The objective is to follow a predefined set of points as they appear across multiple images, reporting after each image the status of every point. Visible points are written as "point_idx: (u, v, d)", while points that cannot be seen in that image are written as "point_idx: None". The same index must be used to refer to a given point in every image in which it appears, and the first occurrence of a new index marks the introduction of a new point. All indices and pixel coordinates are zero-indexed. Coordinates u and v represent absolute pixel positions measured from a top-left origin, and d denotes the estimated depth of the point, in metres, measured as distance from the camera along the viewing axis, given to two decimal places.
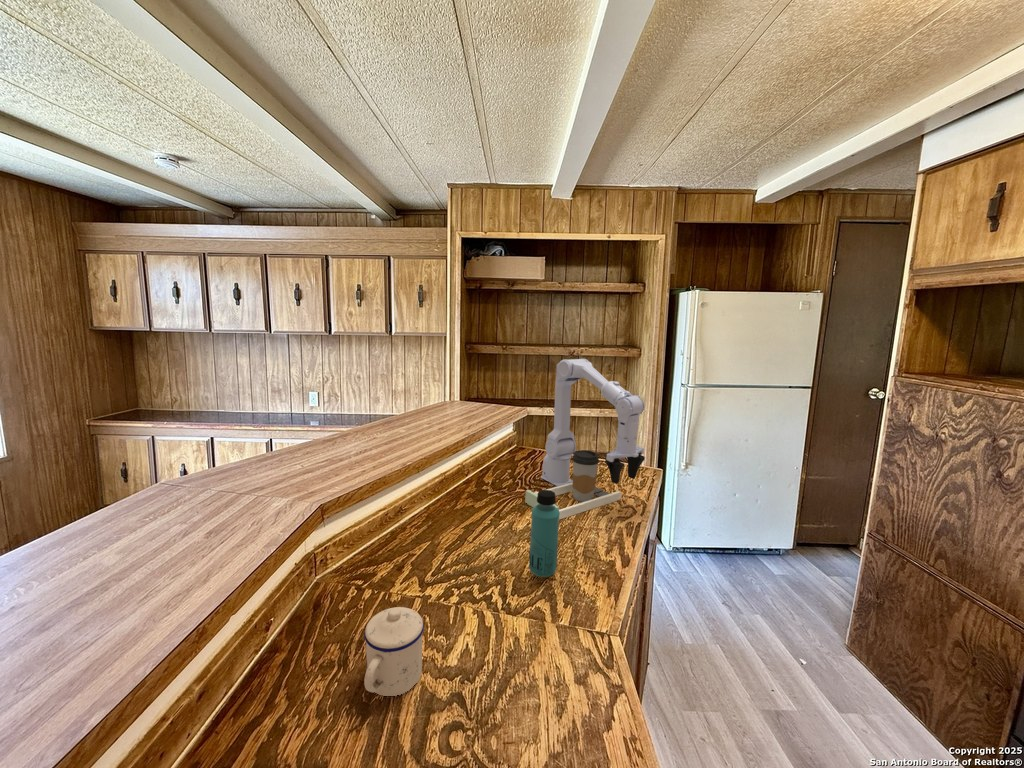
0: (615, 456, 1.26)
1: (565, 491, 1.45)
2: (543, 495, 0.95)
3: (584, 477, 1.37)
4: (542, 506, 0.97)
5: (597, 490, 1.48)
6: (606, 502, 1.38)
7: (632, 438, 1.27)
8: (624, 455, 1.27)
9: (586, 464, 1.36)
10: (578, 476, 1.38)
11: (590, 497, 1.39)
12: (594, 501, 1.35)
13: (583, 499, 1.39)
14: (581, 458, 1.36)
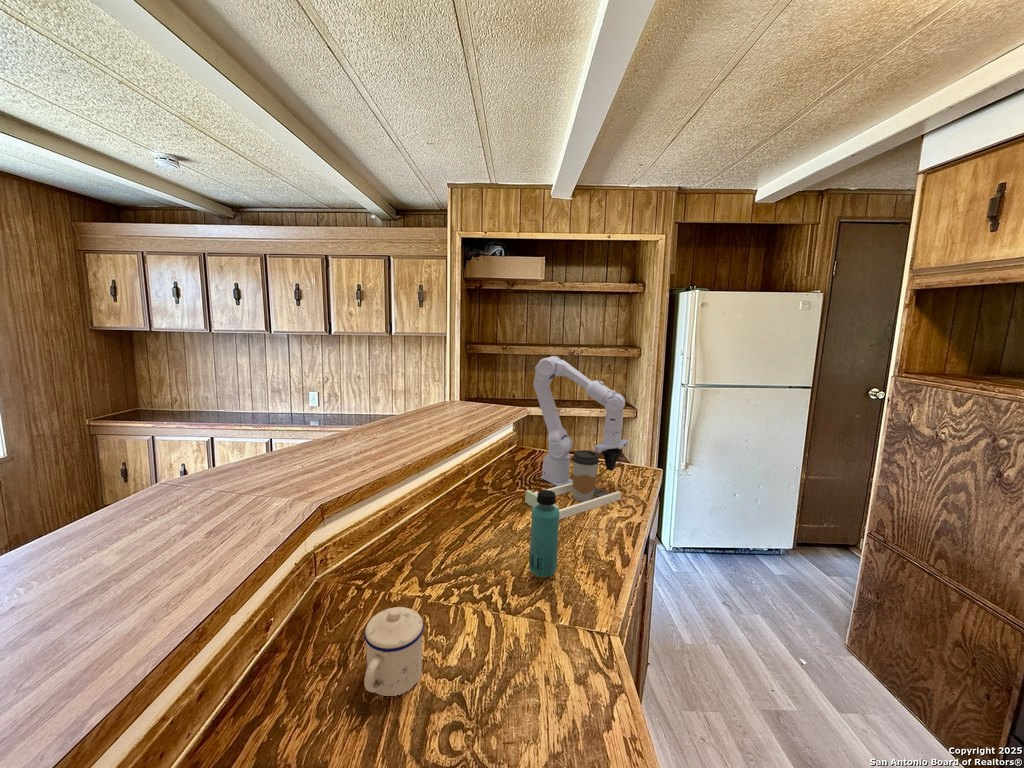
0: (602, 448, 1.42)
1: (565, 491, 1.45)
2: (543, 495, 0.95)
3: (584, 477, 1.37)
4: (542, 506, 0.97)
5: (597, 490, 1.48)
6: (606, 502, 1.38)
7: (620, 431, 1.43)
8: (610, 447, 1.43)
9: (586, 464, 1.36)
10: (578, 476, 1.38)
11: (590, 497, 1.39)
12: (594, 501, 1.35)
13: (583, 499, 1.39)
14: (581, 458, 1.36)
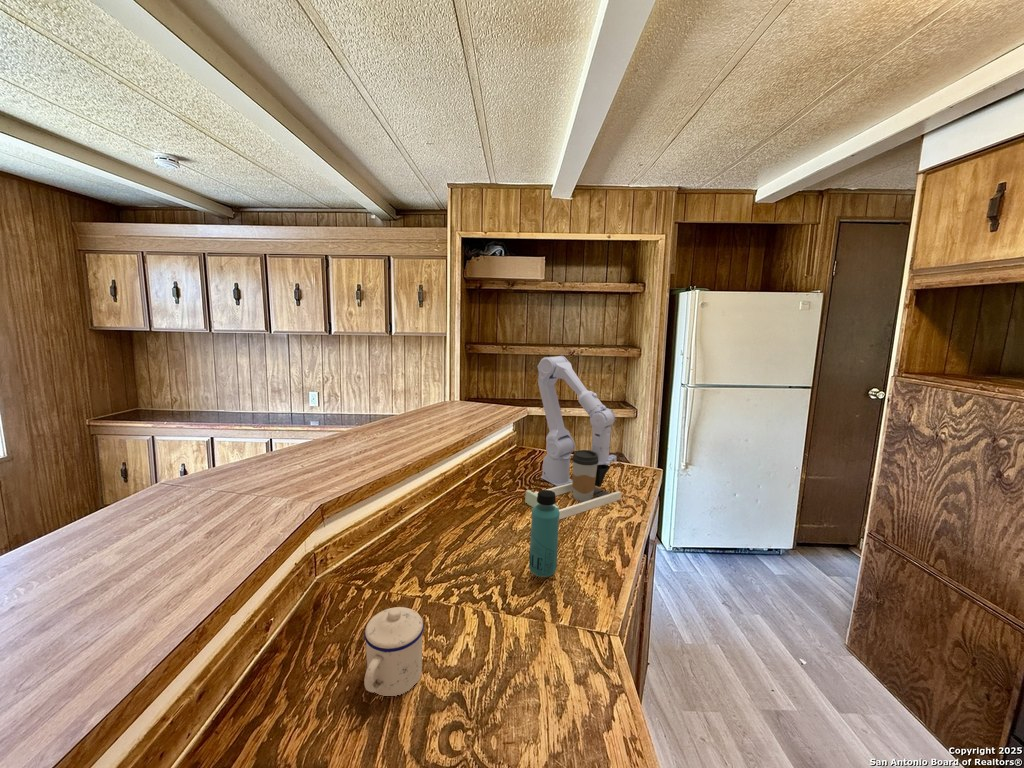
0: None
1: (565, 491, 1.45)
2: (543, 495, 0.95)
3: (584, 477, 1.37)
4: (542, 506, 0.97)
5: (597, 490, 1.48)
6: (606, 502, 1.38)
7: (606, 447, 1.40)
8: None
9: (586, 464, 1.36)
10: (578, 476, 1.38)
11: (590, 497, 1.39)
12: (594, 501, 1.35)
13: (583, 499, 1.39)
14: (581, 458, 1.36)
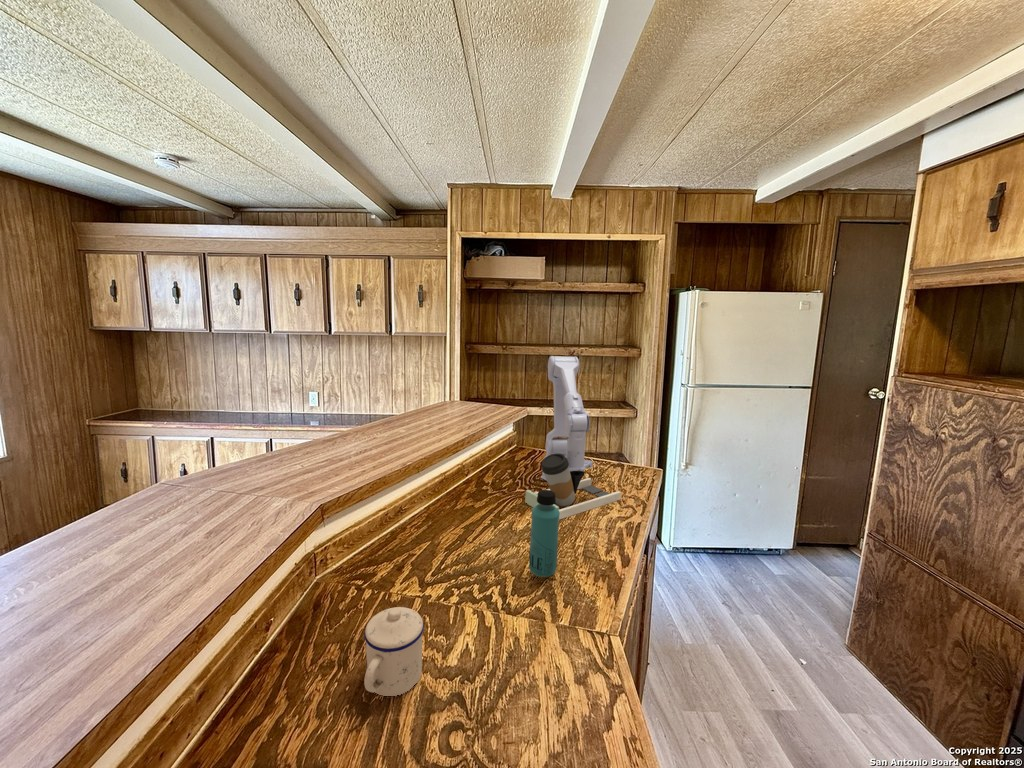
0: None
1: None
2: (543, 495, 0.95)
3: (558, 485, 1.31)
4: (542, 506, 0.97)
5: (597, 490, 1.48)
6: (606, 502, 1.38)
7: (574, 453, 1.33)
8: (571, 469, 1.33)
9: (555, 473, 1.29)
10: (552, 485, 1.32)
11: (571, 499, 1.34)
12: (594, 501, 1.35)
13: (564, 504, 1.34)
14: (548, 469, 1.29)
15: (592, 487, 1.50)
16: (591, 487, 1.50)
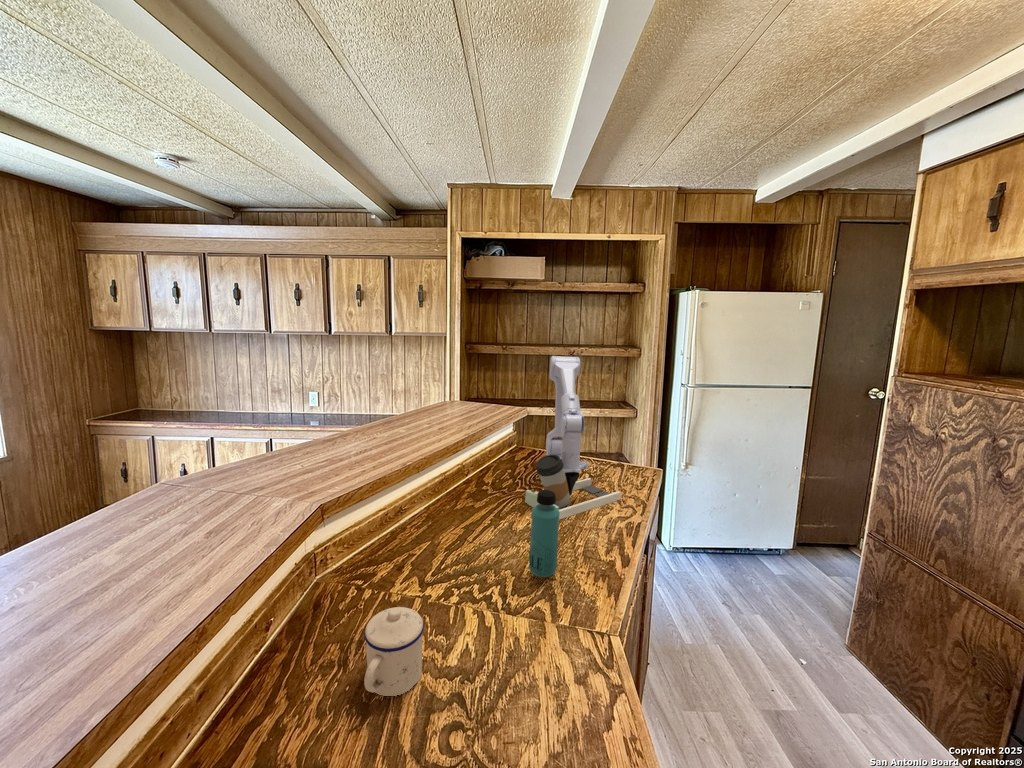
0: None
1: None
2: (543, 495, 0.95)
3: (552, 487, 1.30)
4: (542, 506, 0.97)
5: (597, 490, 1.48)
6: (606, 502, 1.38)
7: (569, 454, 1.32)
8: (566, 470, 1.32)
9: (550, 475, 1.28)
10: (547, 486, 1.31)
11: (566, 501, 1.33)
12: (594, 501, 1.35)
13: (559, 505, 1.33)
14: (543, 470, 1.28)
15: (592, 487, 1.50)
16: (591, 487, 1.50)
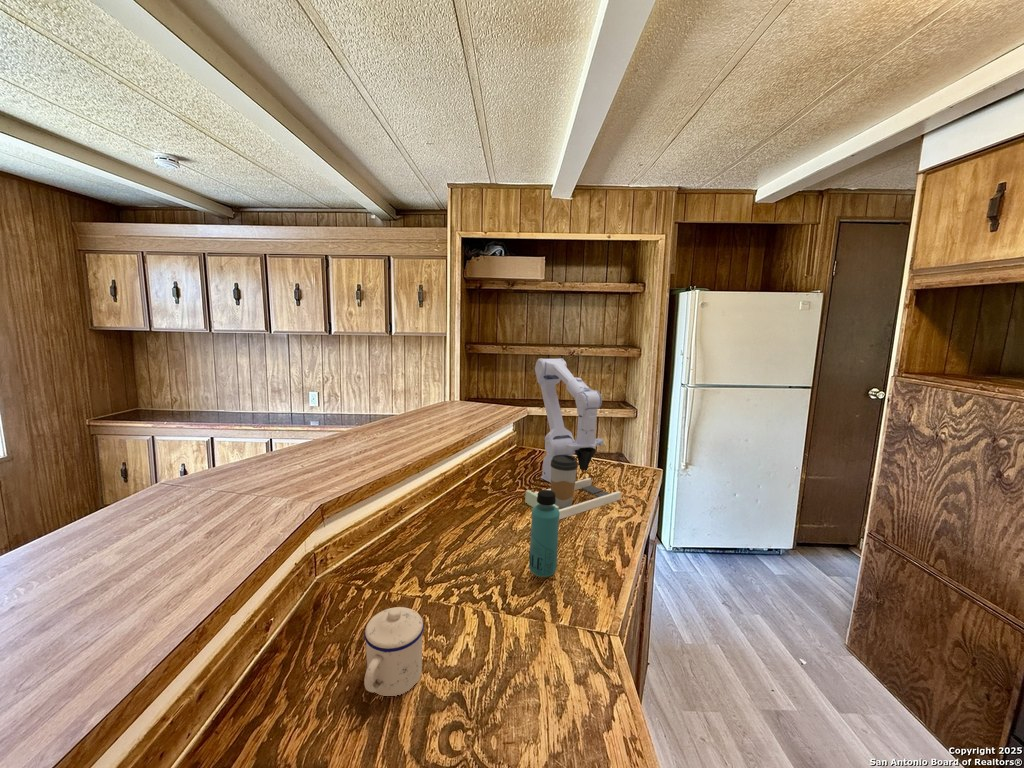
0: (574, 446, 1.36)
1: None
2: (543, 495, 0.95)
3: (563, 483, 1.31)
4: (542, 506, 0.97)
5: (597, 490, 1.48)
6: (606, 502, 1.38)
7: (589, 430, 1.36)
8: (582, 446, 1.36)
9: (565, 470, 1.30)
10: (556, 482, 1.32)
11: (569, 503, 1.34)
12: (594, 501, 1.35)
13: (562, 506, 1.33)
14: (559, 463, 1.31)
15: (592, 487, 1.50)
16: (591, 487, 1.50)
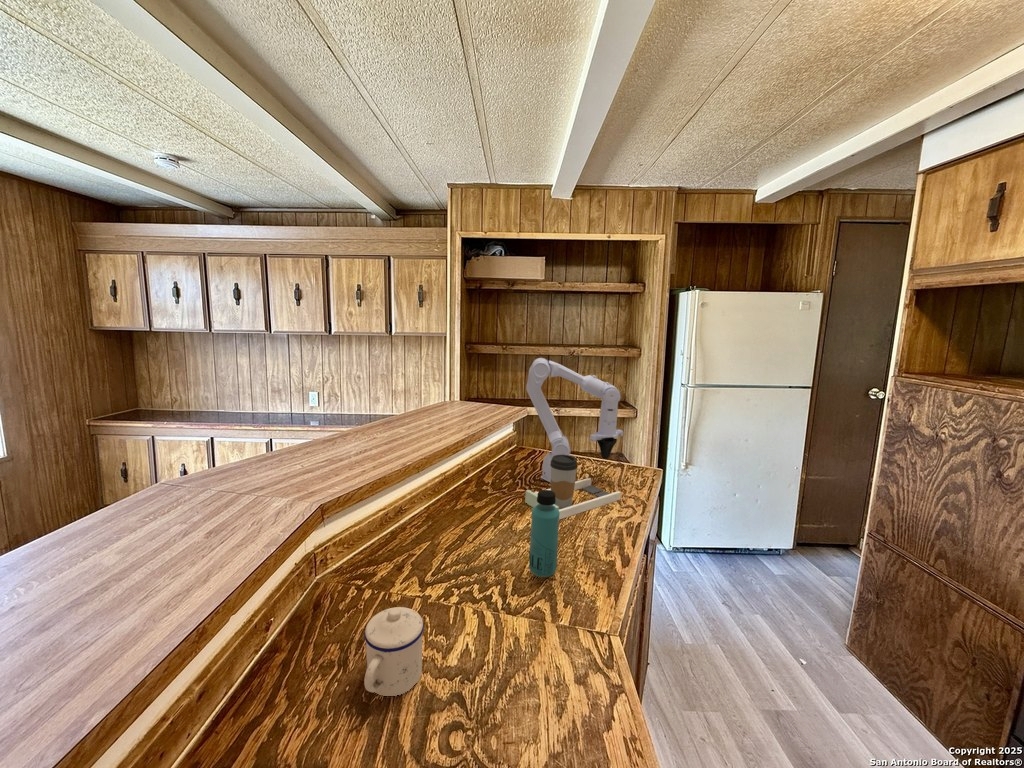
0: (597, 437, 1.47)
1: None
2: (543, 495, 0.95)
3: (562, 483, 1.31)
4: (542, 506, 0.97)
5: (597, 490, 1.48)
6: (606, 502, 1.38)
7: (616, 420, 1.50)
8: (605, 436, 1.48)
9: (564, 469, 1.30)
10: (556, 482, 1.32)
11: (569, 503, 1.34)
12: (594, 501, 1.35)
13: (562, 506, 1.33)
14: (559, 463, 1.31)
15: (592, 487, 1.50)
16: (591, 487, 1.50)
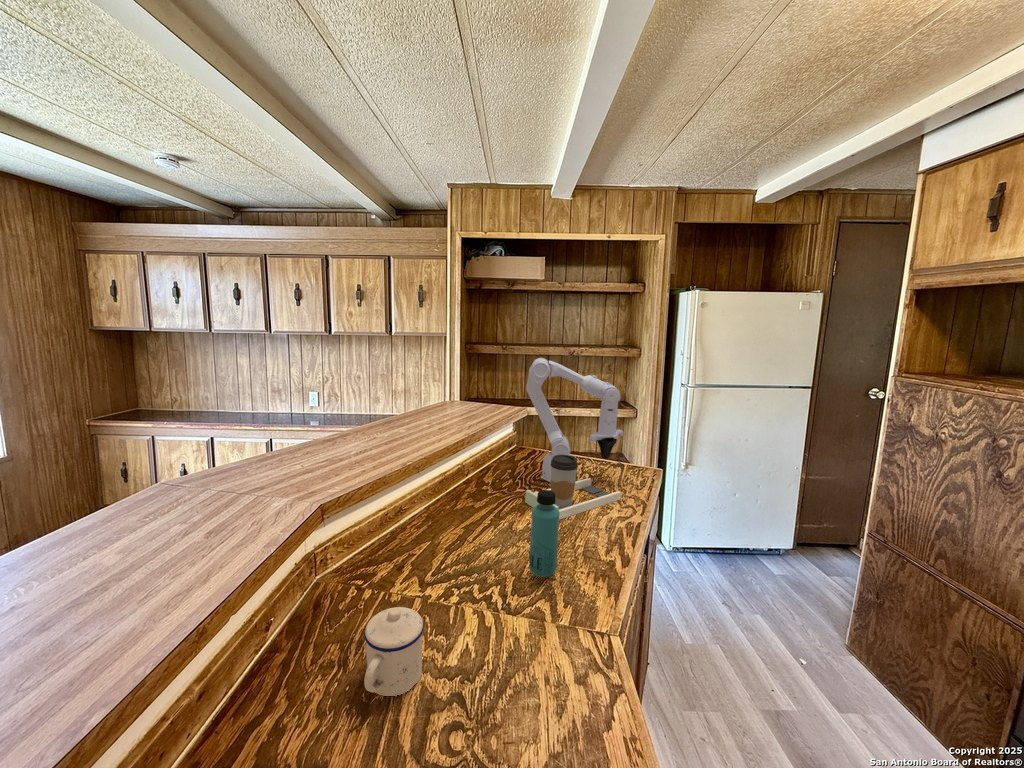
0: (597, 437, 1.47)
1: None
2: (543, 495, 0.95)
3: (563, 483, 1.31)
4: (542, 506, 0.97)
5: (597, 490, 1.48)
6: (606, 502, 1.38)
7: (616, 420, 1.50)
8: (605, 436, 1.48)
9: (565, 470, 1.30)
10: (556, 482, 1.32)
11: (569, 503, 1.34)
12: (594, 501, 1.35)
13: (562, 506, 1.33)
14: (559, 463, 1.31)
15: (592, 487, 1.50)
16: (591, 487, 1.50)
